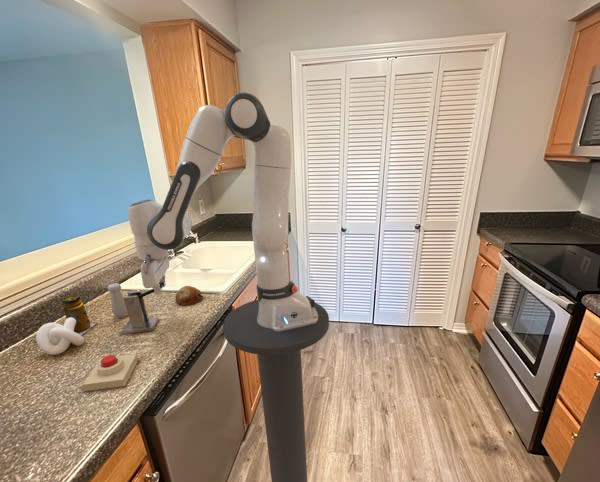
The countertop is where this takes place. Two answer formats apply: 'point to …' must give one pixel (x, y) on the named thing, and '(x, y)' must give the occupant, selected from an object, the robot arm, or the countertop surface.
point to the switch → (147, 292)
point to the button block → (111, 373)
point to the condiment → (77, 314)
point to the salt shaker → (117, 301)
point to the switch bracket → (137, 315)
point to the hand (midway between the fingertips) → (160, 289)
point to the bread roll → (188, 295)
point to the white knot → (58, 336)
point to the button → (108, 361)
